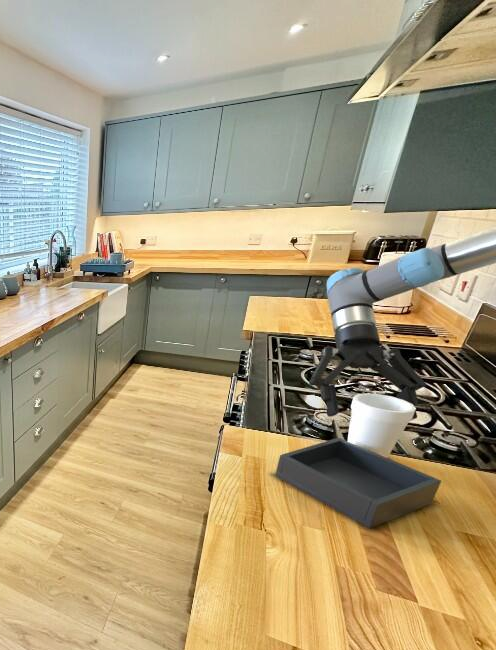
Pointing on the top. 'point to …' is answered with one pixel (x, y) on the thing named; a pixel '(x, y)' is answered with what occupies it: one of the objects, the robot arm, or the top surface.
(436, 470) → the top surface
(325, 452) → the tray
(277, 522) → the top surface
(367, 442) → the foam cup
